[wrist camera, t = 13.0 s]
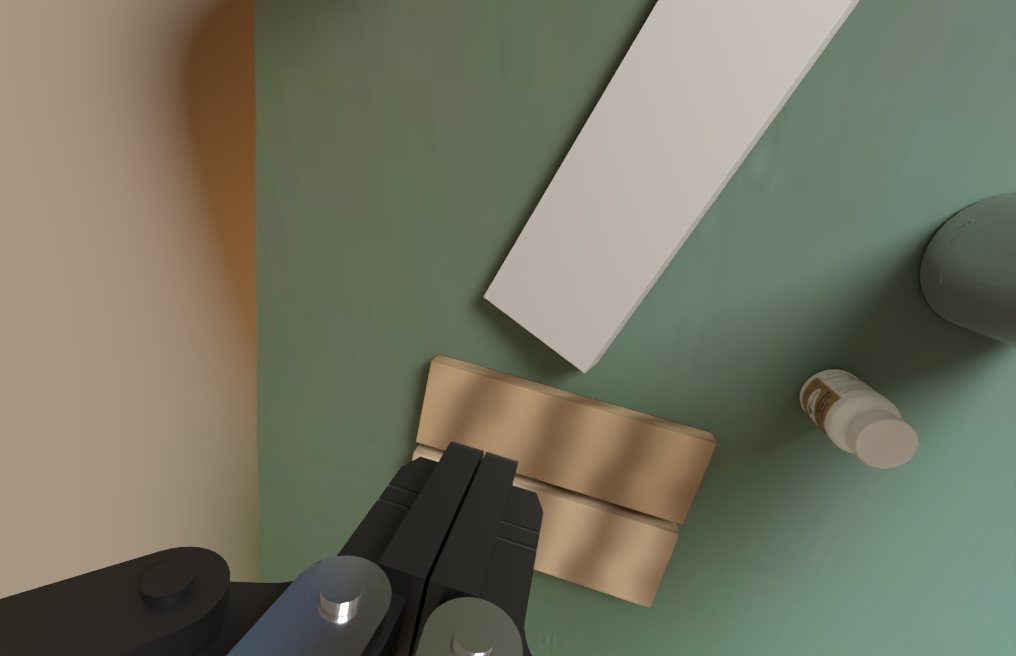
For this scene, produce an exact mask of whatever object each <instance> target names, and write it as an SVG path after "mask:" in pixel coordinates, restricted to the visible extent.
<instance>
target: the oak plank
mask: <svg viewBox="0 0 1016 656" xmlns="http://www.w3.org/2000/svg"><path fill="white" fill-rule="evenodd" d="M444 452H445V451H444V450H441V449H438V448H434V447H431V446H428V445H425V444H422V443H420V444H419V445H418V447H417V448H416V449H415V451H414V453H413V458H412V461H413V460H415V459H417V458H419V457H420V456H421V457H424V458H427V459H430V460H433V461H436V462H439V460H440V459H441V457H442V455H443V454H444ZM513 486H516V487H520V488H523V489H526V490H529V491H532V492H536V493H537V496H538V498H539V501H540V504H541V507H542V509H543V518H542V524H541V530H540V534H539V541H538V547H537V551H536V558H535V564H534V570H537V571H540V572H543V573H546V574H549V575H552V576H555V577H558V578H561V579H564V580H567V581H570V582H573V583H576V584H579V585H582V586H585V587H588V588H591V589H594V590H597V591H600V592H603V593H606V594H609V595H612V596H615V597H618V598H621V599H624V600H627V601H630V602H633V603H636V604H639V605H642V606H645V607H648V608H651V605H652V603H653V600H654V598H655V595H656V593H657V590H658V588H659V585H660V583H661V580H662V577H663V575H664V572H665V570H666V567H667V565H668V562H669V560H670V557H671V555H672V552H673V550H674V547H675V545H676V542H677V540H678V537H679V531H678V527H677V524H676V523H675V522H672V521H669V520H666V519H663V518H659V517H656V516H653V515H650V514H647V513H643V512H640V511H637V510H634V509H630V508H627V507H624V506H621V505H618V504H614V503H611V502H608V501H605V500H602V499H598V498H595V497H592V496H589V495H585V494H582V493H579V492H576V491H573V490H569V489H566V488H563V487H560V486H557V485H553V484H550V483H547V482H544V481H540V480H537V479H534V478H531V477H528V476H524V475H521V474H518V473H516V474H515V478H514V481H513Z"/></svg>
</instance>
